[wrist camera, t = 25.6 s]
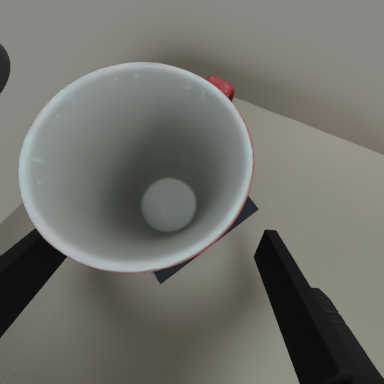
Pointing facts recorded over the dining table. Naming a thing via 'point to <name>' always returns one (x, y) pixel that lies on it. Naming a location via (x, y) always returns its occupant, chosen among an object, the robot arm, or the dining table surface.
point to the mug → (136, 167)
